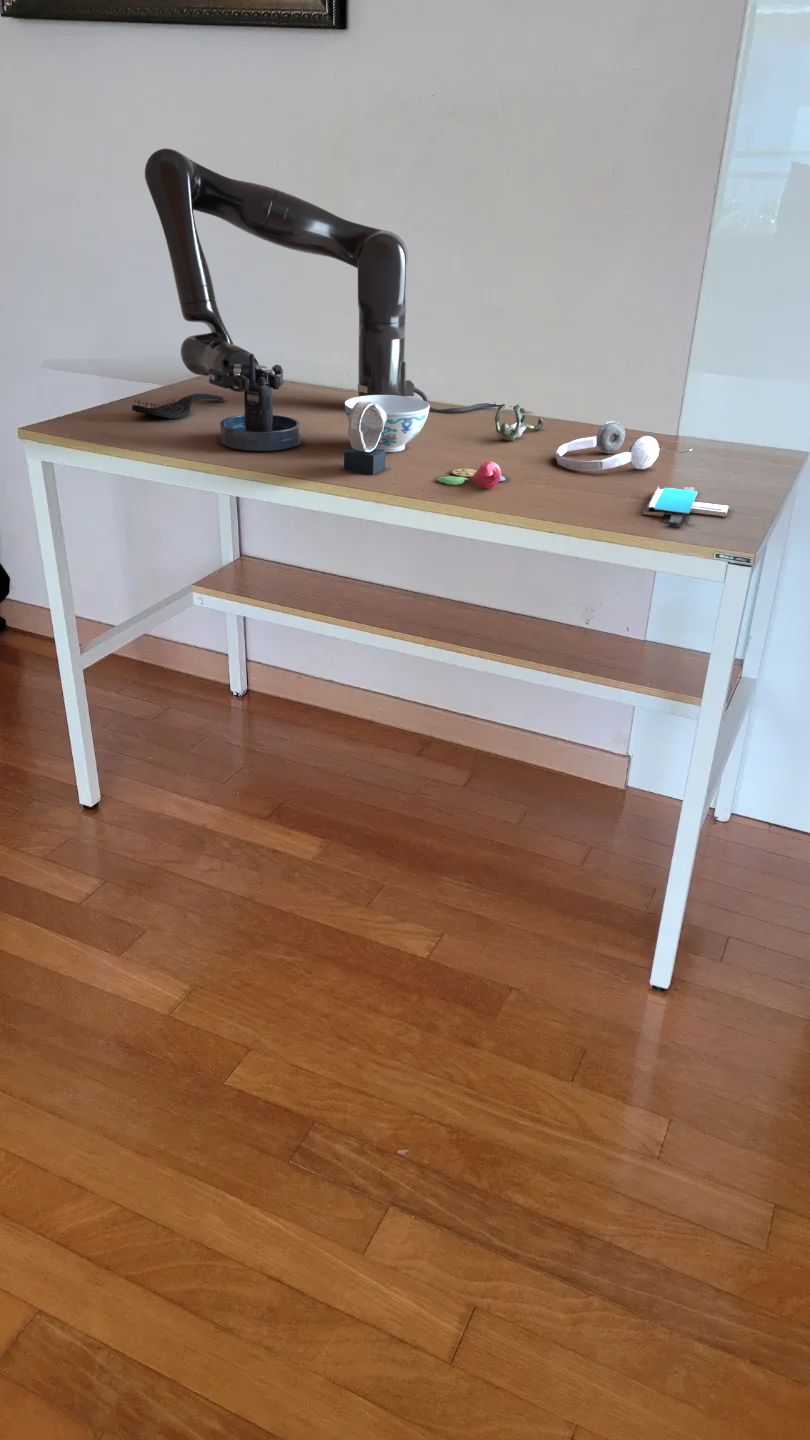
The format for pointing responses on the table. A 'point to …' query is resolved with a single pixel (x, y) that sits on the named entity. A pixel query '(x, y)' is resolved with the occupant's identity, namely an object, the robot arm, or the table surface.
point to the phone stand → (679, 505)
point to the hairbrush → (174, 406)
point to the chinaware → (395, 419)
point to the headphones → (611, 450)
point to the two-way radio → (258, 403)
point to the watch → (361, 453)
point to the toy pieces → (476, 475)
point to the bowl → (261, 434)
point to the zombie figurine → (514, 425)
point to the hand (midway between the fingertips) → (262, 384)
